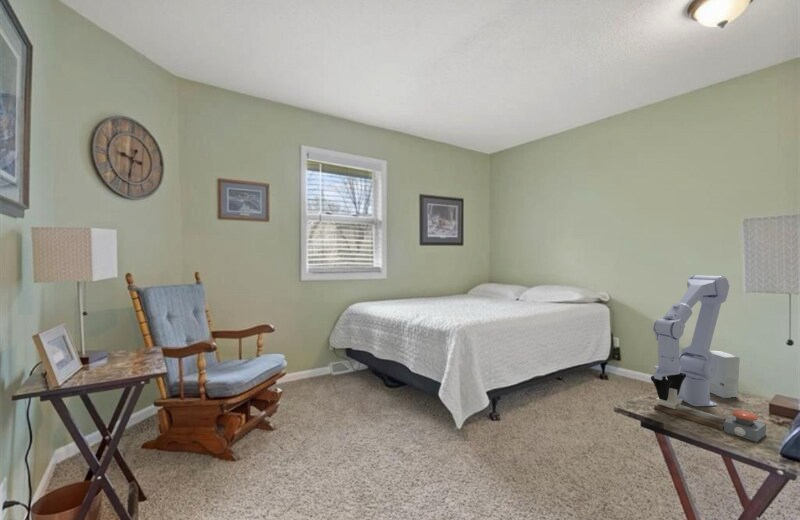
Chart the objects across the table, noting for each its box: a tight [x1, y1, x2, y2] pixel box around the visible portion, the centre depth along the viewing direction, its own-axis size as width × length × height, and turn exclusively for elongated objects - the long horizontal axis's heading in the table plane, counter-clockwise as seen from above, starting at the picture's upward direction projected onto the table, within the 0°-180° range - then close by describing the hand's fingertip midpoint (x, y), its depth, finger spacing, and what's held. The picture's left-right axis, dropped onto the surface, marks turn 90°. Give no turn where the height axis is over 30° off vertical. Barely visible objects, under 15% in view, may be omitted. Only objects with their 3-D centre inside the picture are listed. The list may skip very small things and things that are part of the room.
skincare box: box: [709, 350, 741, 399], centre depth 133 cm, size 8×6×15 cm
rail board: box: [653, 403, 727, 431], centre depth 116 cm, size 18×6×2 cm, turn 31°
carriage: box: [655, 388, 683, 409], centre depth 121 cm, size 5×6×6 cm
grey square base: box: [723, 414, 767, 443], centre depth 105 cm, size 7×7×3 cm
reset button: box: [732, 409, 758, 427], centre depth 105 cm, size 5×5×3 cm
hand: (668, 396), depth 121 cm, fingers open, 7 cm apart
